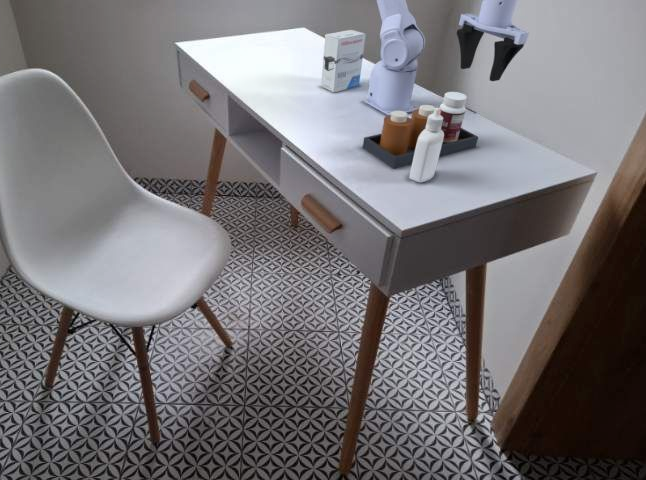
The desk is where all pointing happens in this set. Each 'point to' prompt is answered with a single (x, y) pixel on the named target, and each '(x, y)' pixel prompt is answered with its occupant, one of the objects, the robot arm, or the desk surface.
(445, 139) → the pill bottle
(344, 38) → the ink box
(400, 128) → the amber bottle far
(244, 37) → the desk surface
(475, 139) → the tray
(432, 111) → the amber bottle middle
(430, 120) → the eye dropper bottle
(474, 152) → the desk surface
